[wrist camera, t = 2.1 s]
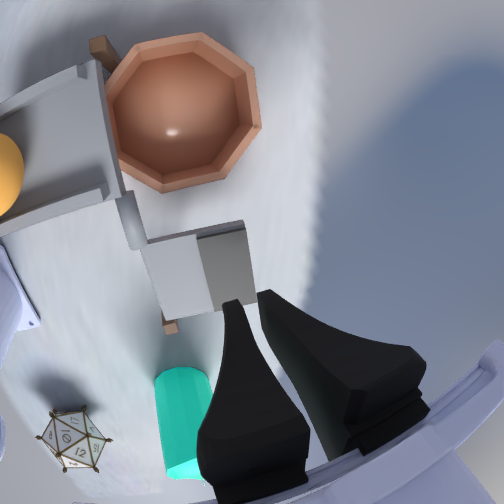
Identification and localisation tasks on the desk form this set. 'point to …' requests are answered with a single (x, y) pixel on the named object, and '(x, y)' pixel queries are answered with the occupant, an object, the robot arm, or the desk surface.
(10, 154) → the ball
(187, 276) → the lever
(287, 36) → the desk surface
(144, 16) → the desk surface
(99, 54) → the lever stand
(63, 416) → the game die
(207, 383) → the candle
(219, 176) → the bowl
